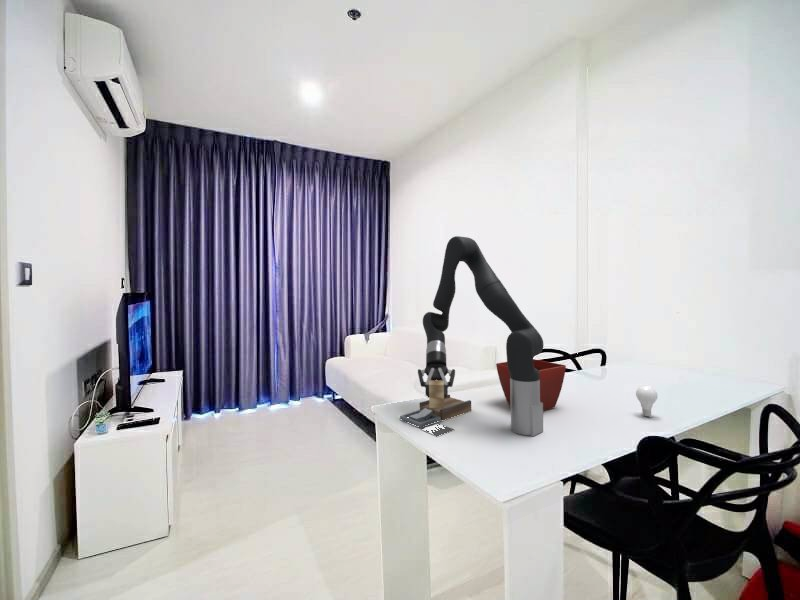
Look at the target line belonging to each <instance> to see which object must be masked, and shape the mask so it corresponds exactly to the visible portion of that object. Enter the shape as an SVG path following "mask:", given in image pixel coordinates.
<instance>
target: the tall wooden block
mask: <svg viewBox="0 0 800 600" xmlns="http://www.w3.org/2000/svg"><path fill="white" fill-rule="evenodd" d="M428 400H429V408H444V381H442V380H431V381H429V398H428Z"/></svg>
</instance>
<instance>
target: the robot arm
mask: <svg viewBox="0 0 800 600" xmlns="http://www.w3.org/2000/svg"><path fill="white" fill-rule="evenodd" d="M445 247H446V248H445V251H444V258H443V264H442V269H441V275H440V280H439V284H438V287H437V291H436V293H435V296H434V298H433V303H432V305H433V308H435V309H436V310H438V311H440V312H441V314H440V313H437V312H431V311H428V312H426V313H424V315H423V317H422V325H423V330H424V332H425V336H426V350H425V351H426V352H425V356H426V357H425V368H424V369H420V368H419V369H417V376H418V380H419V384H420V386H421V388H422V387H423V388H425V396H426V397H427V398H428V399H429V381H431V380H442V381H444V398H446V396H447V395H448V394H449V393H448V388H449V387H450V388H452V387H453V385H454V382H455V381H454V380H455V376H456V370H455V369H449V368H448V366H447V365H448V364H447V349H446V336H445V333H444V332H445V331H446V330H447V329H448V328H449V326H450V325H449V321H450V309H451V308H452V307H451V306H452V303H453V301H454V298H455V295H456V290H457V289H456V271H457V268H458V266H459V263H460V262H464V263H465V264H466V266H467V267H468V269H469V270H470V271H471V273H472V275H473V279H474V287H475V288H474V289H475V292H476V294H477V295H478V298H479V299H480V301H481V302H482V303H483V305H484V306H485V307H486V309H487V310H488V311H490V312H491V313H492V314H493V315H494V316H495V317H497V318H499V319H500V320H501V321H502V322H503V324H505V325H506V326H507V327H508V329H509V330H510V332H511V333H510V334H509V335H508V336H507V339H506V343H505V349H506V362H507V366H508V370H509V372H510V398H511V406H510V430H511V431H512V432H514V433H515V434H519V435H523V436H531V437H535V436H537V435H539V434H541V433H543V432H544V410H543V403H542V402H540V373H539V371H538V370H537V369H535V368H534V365H533V359H534V357H536V356H538V355H540V354H541V353H542V352H543V350H544V340H543V338H542V335H541V334H540V333H539V331H538V330H537V329H536V327H534V325H533V324H532V323H531V322H530V321H529V320H528V318H527V317H526V316H525V314H523V312H522V311H521V309H520V308H519V307H518V304H517V303H516V302H515V300H514V299H513V298H512V296H511V295H510V293H509V291H508V290H507V289H506V287H505V285H504V284H503V282H502V281H501V280H500V278H499V277H498V275H496V273H495V271H494V270H493V268H492V267H491V266H490V264H489V263H488V262H487V259H486V258H485V256H484V254H483V252H482V249H480V247H479V244H478V243H477V242H476V240H475V239H473V238H470V237H468V236H467V237H466V236H459V235H456V236H452V237H451V238H450V239H449V240H448V242H447V244H446V246H445ZM425 374H426V376H427V379H426V381H425V380H424V376H425ZM447 374H448V375H449V381H447V379H446V376H447Z"/></svg>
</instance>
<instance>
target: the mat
mask: <svg viewBox="0 0 800 600" xmlns="http://www.w3.org/2000/svg"><path fill="white" fill-rule="evenodd" d="M437 423H438V424H439V425H440V424H441V423H440V422H437ZM442 425H443V427H444V426H446V427H444V428H445V429H442V428H439V427H438V428H439V429H440V430H439V429H437V428H436V427H435V428H436V429H437V430H438V431H436V430H434V431H435V432H433V430H431V431H432V433H433V434H434V435H436V436H435V437H437V436H438V437H440V436H439V435H441V434H443V435H445V434H444V433H446V434H448V433H450V432H449V431H451V432H453V431H452V430H454V431H455V428H452V427H449V426H447V425H444V424H442ZM437 426H438V425H437ZM426 431H427V430H426ZM427 432H429V431H427ZM427 432H426V433H427ZM447 432H448V433H447ZM434 435H433V436H434ZM441 436H442V435H441Z"/></svg>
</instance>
